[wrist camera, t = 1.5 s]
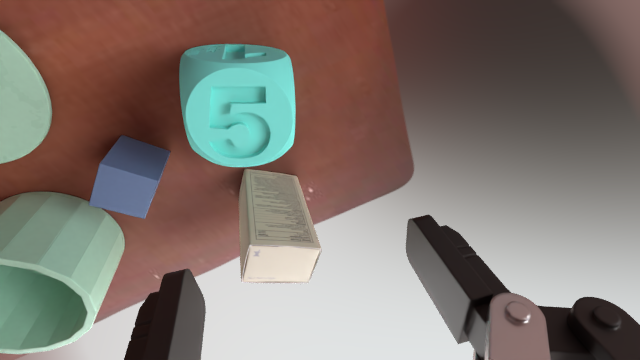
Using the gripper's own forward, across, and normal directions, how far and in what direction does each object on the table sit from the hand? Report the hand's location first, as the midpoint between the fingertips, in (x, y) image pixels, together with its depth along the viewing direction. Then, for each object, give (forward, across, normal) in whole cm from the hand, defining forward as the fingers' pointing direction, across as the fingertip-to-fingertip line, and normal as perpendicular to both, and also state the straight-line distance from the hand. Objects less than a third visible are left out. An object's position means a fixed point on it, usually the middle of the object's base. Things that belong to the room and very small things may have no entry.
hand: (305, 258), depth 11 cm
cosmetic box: (+22, +2, +11) cm, 25 cm away
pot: (+22, +25, +12) cm, 36 cm away
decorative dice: (+22, +2, 0) cm, 23 cm away
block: (+22, +14, +5) cm, 27 cm away
